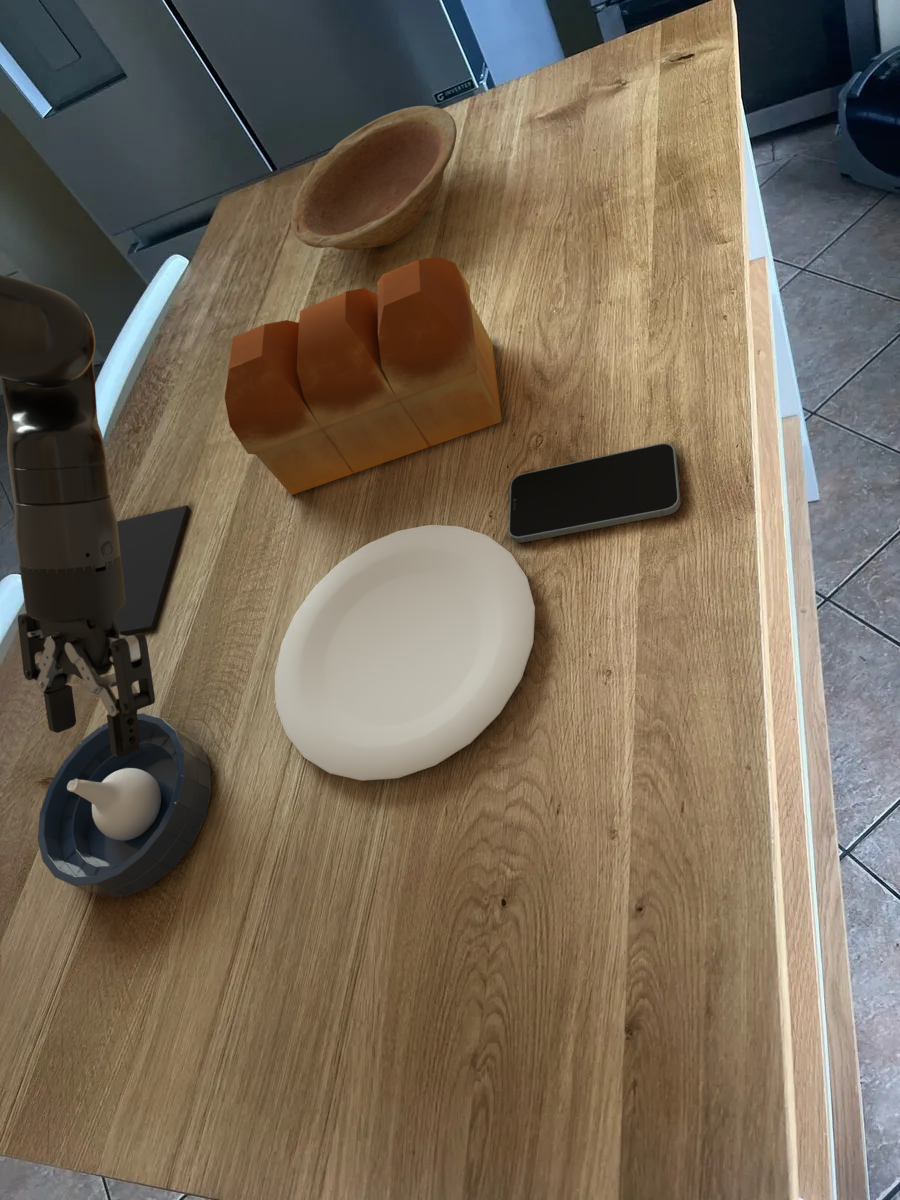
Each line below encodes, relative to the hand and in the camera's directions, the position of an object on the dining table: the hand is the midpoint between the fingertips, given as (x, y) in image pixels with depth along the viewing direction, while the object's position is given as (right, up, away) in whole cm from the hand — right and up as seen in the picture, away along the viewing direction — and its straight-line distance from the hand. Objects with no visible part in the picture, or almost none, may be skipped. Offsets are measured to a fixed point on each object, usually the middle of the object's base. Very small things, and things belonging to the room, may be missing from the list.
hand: (93, 740), depth 76 cm
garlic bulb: (+2, -7, +5) cm, 9 cm away
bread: (+24, +31, +20) cm, 44 cm away
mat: (-7, +14, +25) cm, 30 cm away
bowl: (+23, +61, +41) cm, 77 cm away
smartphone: (+43, +21, +4) cm, 48 cm away
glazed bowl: (+2, -7, +6) cm, 9 cm away
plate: (+26, +7, +3) cm, 27 cm away
